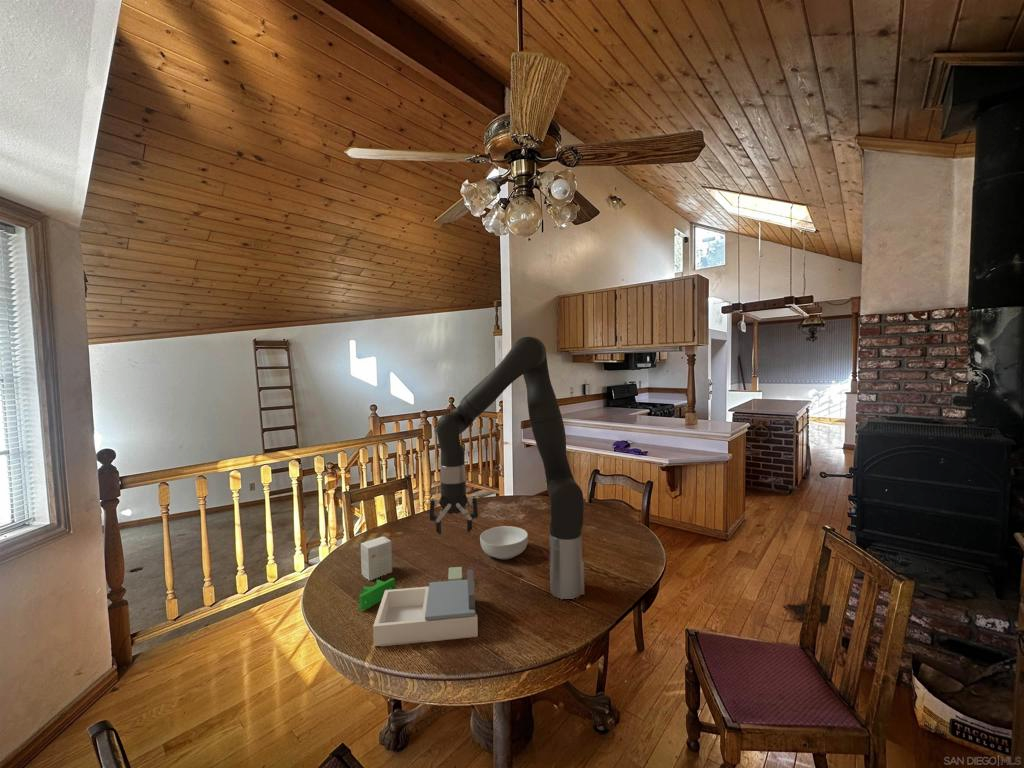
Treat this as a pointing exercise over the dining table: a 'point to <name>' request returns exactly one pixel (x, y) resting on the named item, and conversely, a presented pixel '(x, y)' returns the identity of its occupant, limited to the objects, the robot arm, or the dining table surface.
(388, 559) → the small box
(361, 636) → the dining table surface
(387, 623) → the housing
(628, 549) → the dining table surface
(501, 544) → the cereal bowl
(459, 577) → the pale green block
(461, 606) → the lid
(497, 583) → the dining table surface
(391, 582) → the pipe clamp
